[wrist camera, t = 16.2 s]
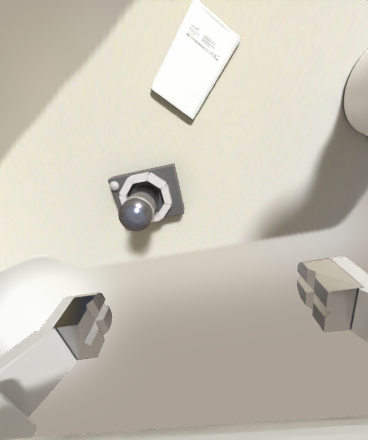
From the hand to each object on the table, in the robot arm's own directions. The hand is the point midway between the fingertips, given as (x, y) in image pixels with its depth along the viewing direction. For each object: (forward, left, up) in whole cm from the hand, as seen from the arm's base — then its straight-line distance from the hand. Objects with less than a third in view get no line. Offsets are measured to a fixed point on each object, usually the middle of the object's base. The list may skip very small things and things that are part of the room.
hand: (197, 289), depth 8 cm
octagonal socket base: (+9, +3, -31) cm, 32 cm away
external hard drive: (-3, -15, -32) cm, 35 cm away
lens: (+9, +3, -28) cm, 30 cm away
